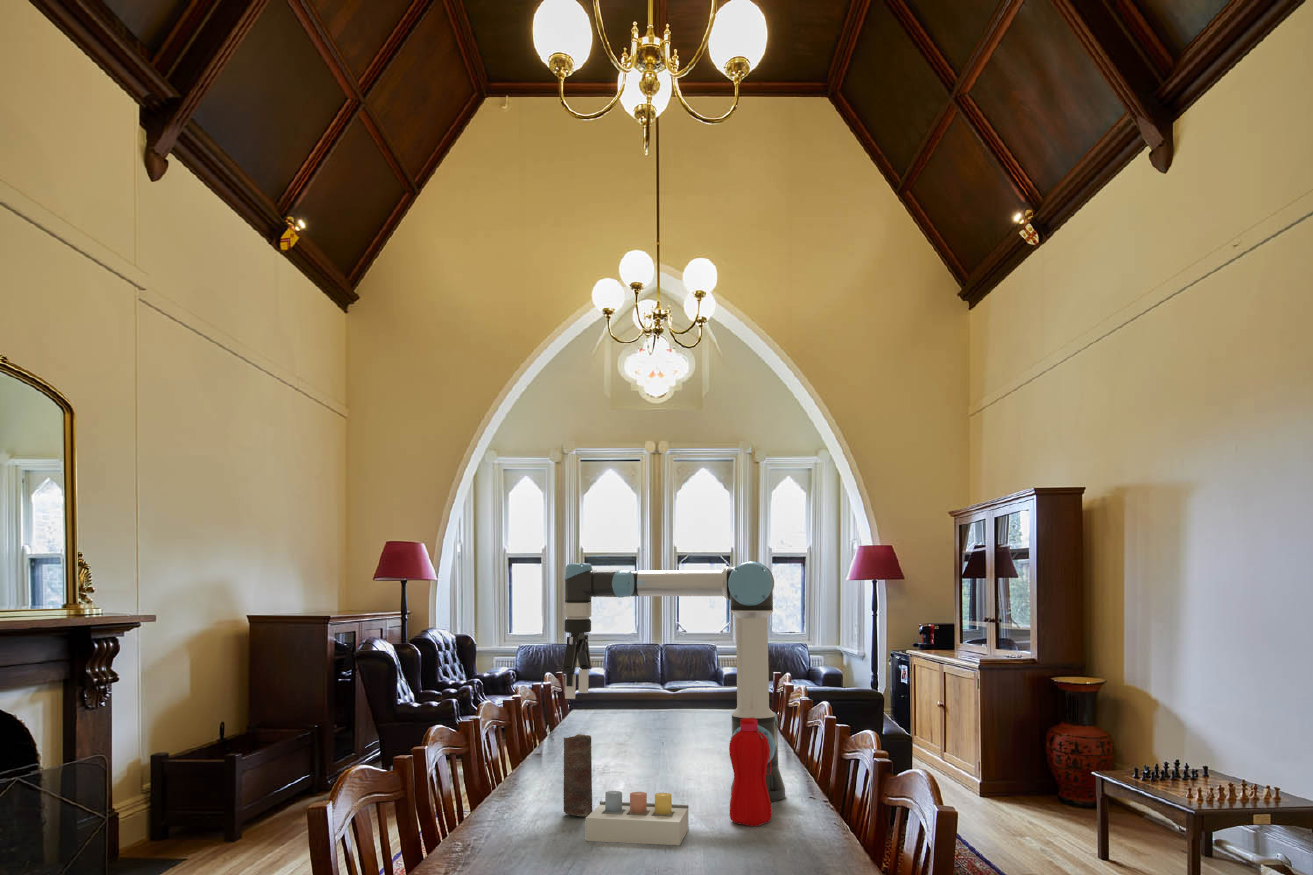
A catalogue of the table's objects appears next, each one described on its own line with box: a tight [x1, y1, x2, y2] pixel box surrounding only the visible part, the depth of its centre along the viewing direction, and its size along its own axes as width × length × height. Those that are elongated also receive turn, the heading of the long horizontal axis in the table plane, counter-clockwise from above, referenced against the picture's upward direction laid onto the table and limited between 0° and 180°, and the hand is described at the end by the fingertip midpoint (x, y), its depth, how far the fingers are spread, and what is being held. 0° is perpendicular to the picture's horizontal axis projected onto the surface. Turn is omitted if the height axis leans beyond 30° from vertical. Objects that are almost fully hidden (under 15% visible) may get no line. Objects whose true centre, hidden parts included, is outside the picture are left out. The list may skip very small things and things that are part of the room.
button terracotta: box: [629, 791, 648, 813], centre depth 218 cm, size 4×4×4 cm
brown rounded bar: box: [563, 734, 593, 818], centre depth 236 cm, size 8×7×20 cm
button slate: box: [604, 790, 623, 812], centre depth 219 cm, size 4×4×4 cm
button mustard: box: [654, 792, 673, 814], centre depth 217 cm, size 4×4×4 cm
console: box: [585, 800, 690, 846], centre depth 217 cm, size 22×14×6 cm, turn 80°
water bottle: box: [728, 718, 773, 827], centre depth 230 cm, size 9×11×25 cm
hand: (576, 695), depth 256 cm, fingers open, 13 cm apart
